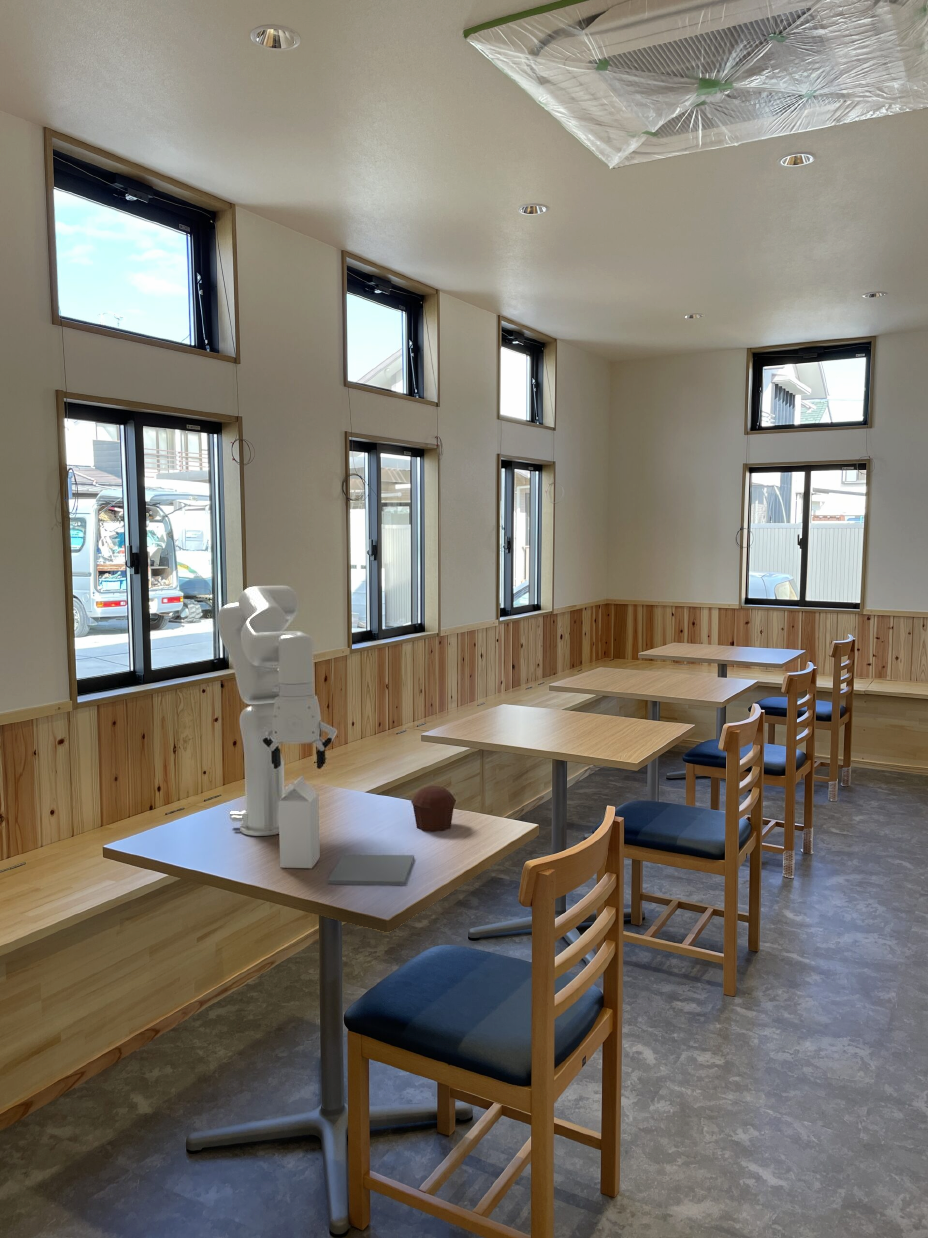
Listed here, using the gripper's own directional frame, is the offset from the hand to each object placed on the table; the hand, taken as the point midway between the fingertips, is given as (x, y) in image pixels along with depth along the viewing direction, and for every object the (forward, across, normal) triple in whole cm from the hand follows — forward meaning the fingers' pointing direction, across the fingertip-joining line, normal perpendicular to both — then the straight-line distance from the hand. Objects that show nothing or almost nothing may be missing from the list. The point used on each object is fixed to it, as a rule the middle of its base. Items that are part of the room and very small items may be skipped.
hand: (298, 767), depth 195 cm
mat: (+22, +17, -3) cm, 28 cm away
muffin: (+22, +27, +29) cm, 45 cm away
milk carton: (+22, 0, +1) cm, 22 cm away
